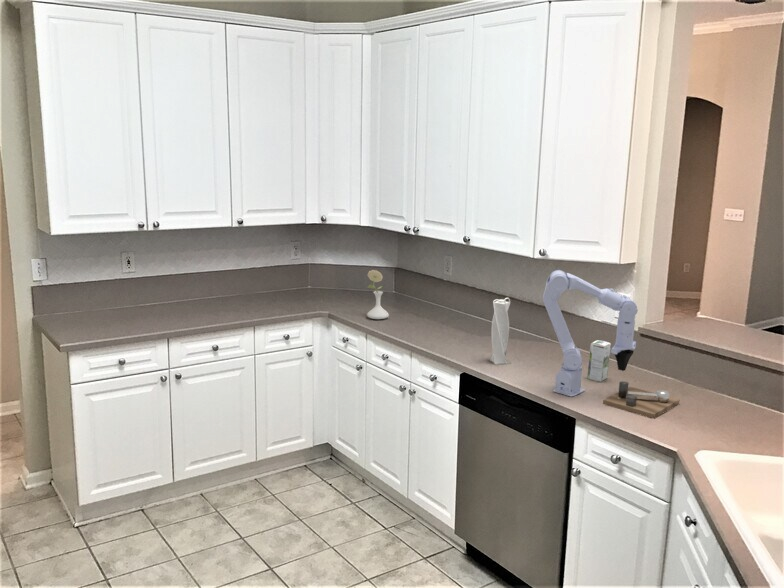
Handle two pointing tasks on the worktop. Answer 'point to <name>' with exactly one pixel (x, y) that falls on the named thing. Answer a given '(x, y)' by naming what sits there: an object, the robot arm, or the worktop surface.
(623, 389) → the press lever
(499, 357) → the skyscraper
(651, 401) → the board
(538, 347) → the worktop surface
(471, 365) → the worktop surface
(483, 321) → the worktop surface
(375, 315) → the flower in vase
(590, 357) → the syrup box
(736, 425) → the worktop surface
